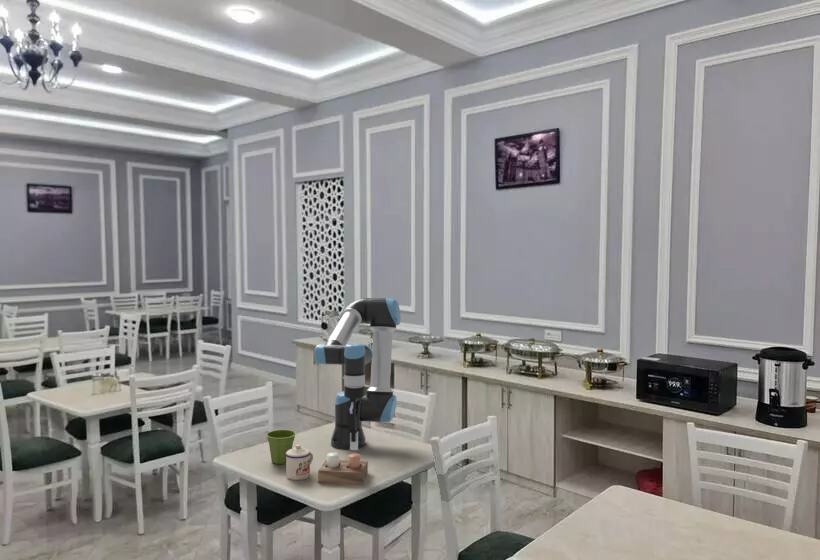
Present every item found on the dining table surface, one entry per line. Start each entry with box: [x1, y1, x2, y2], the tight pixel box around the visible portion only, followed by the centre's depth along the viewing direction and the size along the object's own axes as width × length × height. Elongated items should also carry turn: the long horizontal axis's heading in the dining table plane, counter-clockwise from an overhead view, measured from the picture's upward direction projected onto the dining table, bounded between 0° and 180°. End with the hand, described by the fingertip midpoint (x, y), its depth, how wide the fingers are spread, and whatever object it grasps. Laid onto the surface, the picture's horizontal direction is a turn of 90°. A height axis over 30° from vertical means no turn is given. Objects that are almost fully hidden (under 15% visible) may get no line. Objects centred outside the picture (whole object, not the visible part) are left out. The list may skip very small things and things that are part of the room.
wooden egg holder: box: [317, 458, 369, 486], centre depth 213 cm, size 12×16×4 cm
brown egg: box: [347, 453, 361, 469], centre depth 212 cm, size 4×4×6 cm
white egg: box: [326, 452, 340, 468], centre depth 213 cm, size 4×4×6 cm
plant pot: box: [265, 429, 297, 465], centre depth 230 cm, size 12×12×11 cm
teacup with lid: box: [285, 444, 314, 481], centre depth 216 cm, size 12×9×12 cm
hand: (354, 449), depth 212 cm, fingers closed
